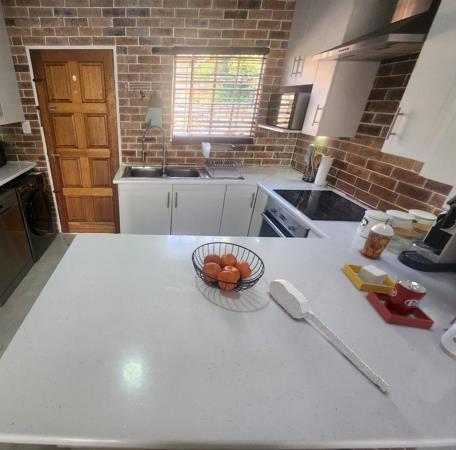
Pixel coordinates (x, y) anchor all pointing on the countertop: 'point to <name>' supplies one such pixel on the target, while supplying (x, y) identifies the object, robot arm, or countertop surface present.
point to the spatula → (316, 323)
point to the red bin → (420, 320)
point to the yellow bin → (350, 270)
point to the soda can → (404, 298)
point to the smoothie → (377, 240)
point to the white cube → (372, 275)
